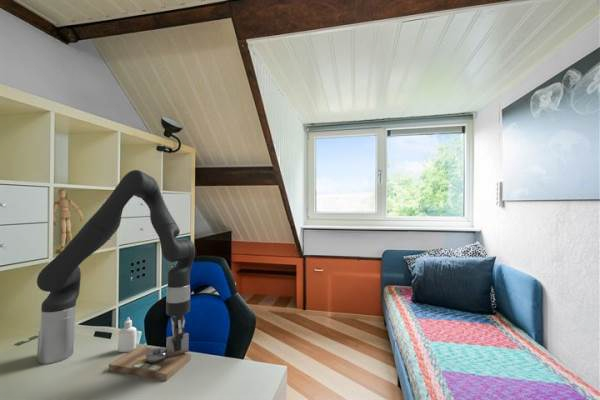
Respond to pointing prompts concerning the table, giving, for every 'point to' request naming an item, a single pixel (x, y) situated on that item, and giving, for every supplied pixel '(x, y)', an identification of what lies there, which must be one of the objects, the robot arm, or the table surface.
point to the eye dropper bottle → (127, 337)
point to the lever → (166, 350)
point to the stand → (156, 371)
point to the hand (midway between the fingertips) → (177, 349)
